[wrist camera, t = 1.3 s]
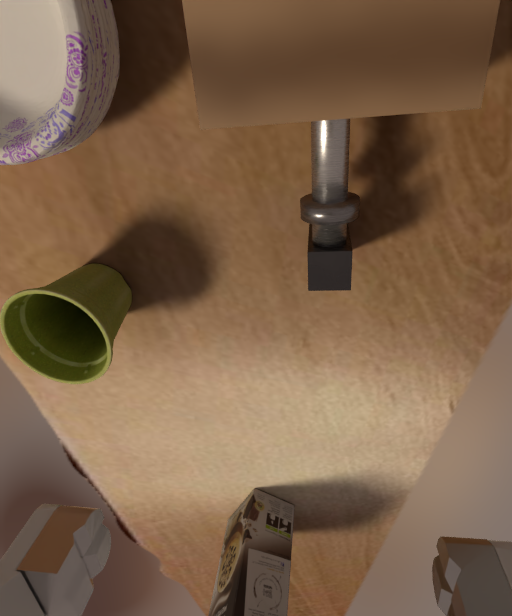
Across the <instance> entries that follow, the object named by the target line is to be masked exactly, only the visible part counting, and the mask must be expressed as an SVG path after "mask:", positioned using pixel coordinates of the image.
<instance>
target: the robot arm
mask: <svg viewBox="0 0 512 616" xmlns="http://www.w3.org/2000/svg"><path fill="white" fill-rule="evenodd" d="M103 519H104V516H103V513H102V511H101V509H95V508H83V507H73V506H64V505H52V504H42V505H41V506H40V507H39V508H38V509H36V510H35V512H34V513H33V515H32V516H31V517H30V519H29V520H28V522H27V523H26V525H25V526H24V527H23V529H22V530H21V532H20V533H19V534H18V536H17V537H16V539H15V540H14V542H13V543H12V545H11V546H10V547H9V549H8V550H7V552H6V553H5V555H4V556H3V557H2V559H1V560H0V616H81V615H82V613H83V611H84V609H85V606H86V604H87V602H88V600H89V598H90V596H91V594H92V592H93V589H94V587H93V580H92V579H93V578H94V577H95V576H96V575H97V574H98V573H99V572H101V571H102V569H103V567H104V565H105V563H106V561H107V558H108V555H109V551H110V546H111V536H110V532H109V529H108V528H107V527H105V526H104V525H103V524H102V521H103ZM437 549H438V553H439V555H438V556H437V557H435V558H434V561H433V567H432V572H433V585H434V592H435V596H436V600H437V604H438V606H439V608H440V609H441V610H442V611H443V613H444V614H445V615H446V616H512V542H507V541H506V542H505V541H491V540H487V539H472V538H471V539H470V538H456V537H440V538H439V539H438V543H437Z"/></svg>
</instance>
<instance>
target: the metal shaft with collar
mask: <svg viewBox="0 0 512 616" xmlns="http://www.w3.org/2000/svg"><path fill="white" fill-rule="evenodd" d="M349 141H350V118H349V119H336V120H323V121H311V160H312V194H308V195H306V196H304V197H302V198H301V199H300V207H301V219H302V220H303V221H305V222H307V223H310V225H309V240H308V291H320V290H351V272H352V246H351V241H350V235H349V229H348V224H347V223H349V222H352V221H354V220H356V219H357V218H358V217H359V205H360V197H359V196H358V195H357V194H355V193H351V192H348V172H349Z"/></svg>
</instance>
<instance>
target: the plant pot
mask: <svg viewBox="0 0 512 616" xmlns="http://www.w3.org/2000/svg"><path fill="white" fill-rule="evenodd" d="M131 302H132V293H131V289H130V288H129V286H128V285H127V284H126V282H125V281H124V279H123V277H122V275H121V274H119V273H118V272H117V271H116V270H114V269H112V268H110V267H108V266H105V265H102V264H88V265H85V266H82V267H80V268H78V269H76V270H74V271H73V272H71V273H69V274H67V275H66V276H64V277H62V278H60V279H58V280H57V281H55V282H53V283H51V284H49V285H47V286H45V287H40V288H34V289H27V290H23V291H21V292H18V293H16V294H15V295H13V296H11V297H10V298H9V299H8V300H7V301H6V302H5V304H4V305H3V307H2V310H1V313H0V326H1V331H2V334H3V336H4V339H5V341H6V343H7V345H8V346H9V348H10V349H11V350H12V352H13V353H14V354H15V355H16V357H17V358H18V359H19V360H20V361H22V362H23V363H24V364H25V365H26V366H28V367H29V368H31V369H32V370H33V371H35V372H36V373H38V374H40V375H42V376H44V377H46V378H48V379H52V380H54V381H57V382H61V383H68V384H83V383H89V382H92V381H94V380H96V379H98V378H100V377H101V376H102V375H103V374H104V373H105V372H106V371H107V369H108V368H109V366H110V364H111V361H112V355H113V350H112V348H113V342H114V339H115V337H116V335H117V332H118V330H119V328H120V326H121V324H122V322H123V320H124V318H125V316H126V314H127V312H128V310H129V308H130V306H131Z"/></svg>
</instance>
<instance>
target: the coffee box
mask: <svg viewBox="0 0 512 616" xmlns="http://www.w3.org/2000/svg"><path fill="white" fill-rule="evenodd" d="M293 520H294V505H292V504H290V503H287V502H285V501H283V500H281V499H278V498H276V497H274V496H272V495H269V494H267V493H265V492H262V491H260V490H258V489H254V490H253V491H252V492H251V493H250V494H249V495H248V497H247V498H246V499H245V500H244V501H243V503H242V504H241V505H240V506H239V507H238V508H237V510H236V511H235V512H234V513H233V514H232V516H231V517H230V518H229V519H228V523H227V528H226V532H225V537H224V542H223V547H222V552H221V557H220V562H219V567H218V572H217V577H216V582H215V587H214V591H213V596H212V601H211V606H210V611H209V616H287V609H288V593H289V580H290V566H291V549H292V535H293Z"/></svg>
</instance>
